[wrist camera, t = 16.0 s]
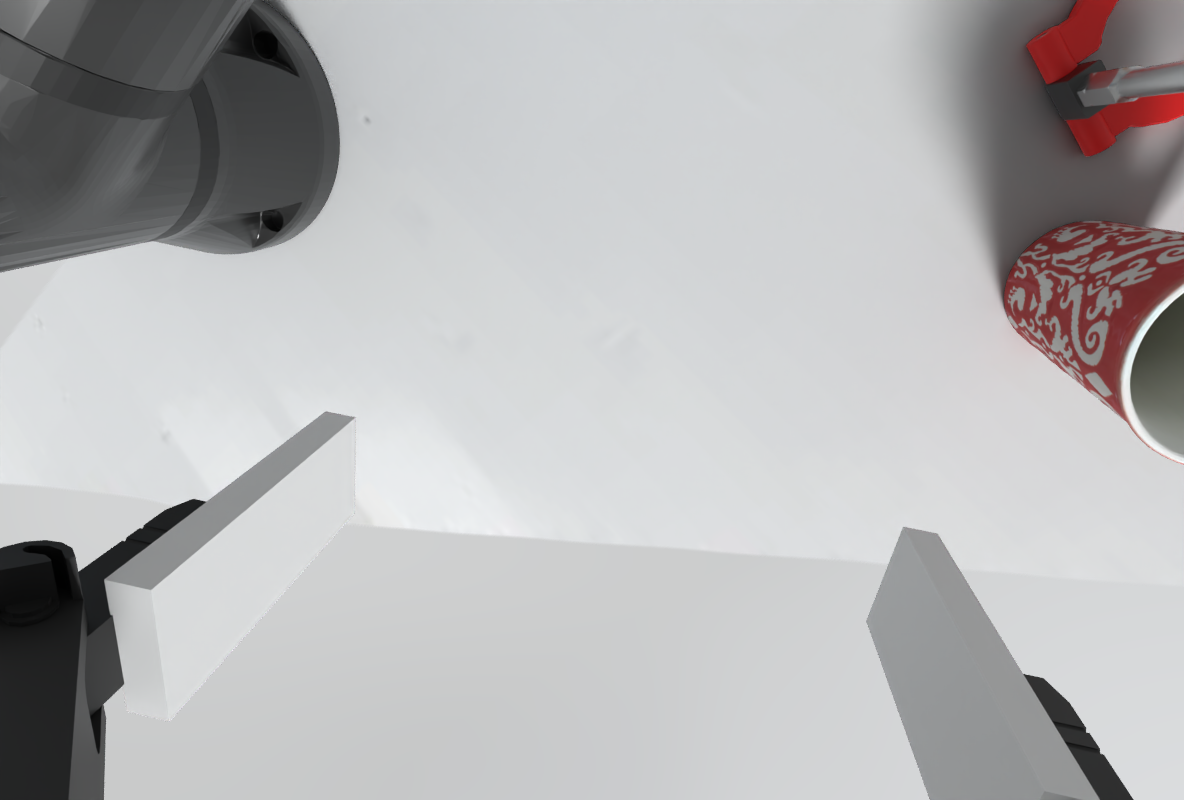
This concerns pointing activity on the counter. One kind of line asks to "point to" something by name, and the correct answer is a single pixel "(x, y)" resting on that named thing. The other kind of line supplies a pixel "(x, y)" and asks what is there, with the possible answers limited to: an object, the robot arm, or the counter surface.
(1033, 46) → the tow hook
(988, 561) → the counter surface
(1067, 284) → the mug
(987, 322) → the counter surface
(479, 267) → the counter surface
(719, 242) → the counter surface
